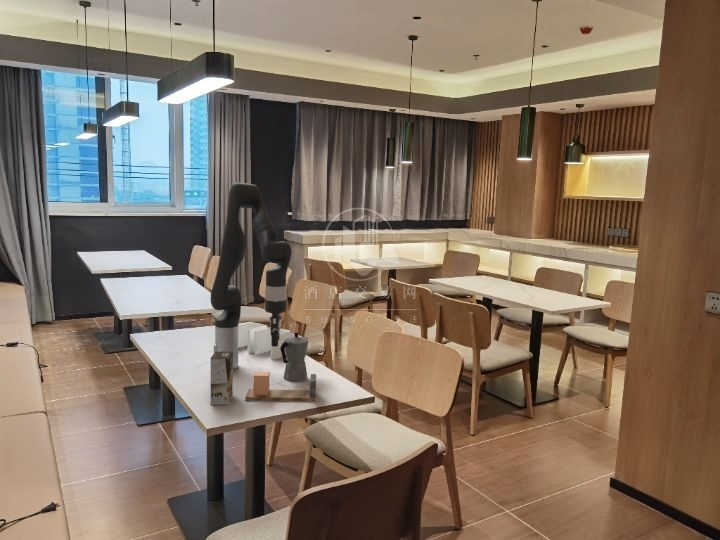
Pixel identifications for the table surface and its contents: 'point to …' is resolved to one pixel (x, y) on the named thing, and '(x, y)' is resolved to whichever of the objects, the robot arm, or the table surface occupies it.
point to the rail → (286, 394)
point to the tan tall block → (261, 383)
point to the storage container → (260, 339)
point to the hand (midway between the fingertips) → (275, 343)
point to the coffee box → (221, 378)
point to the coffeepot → (295, 358)
